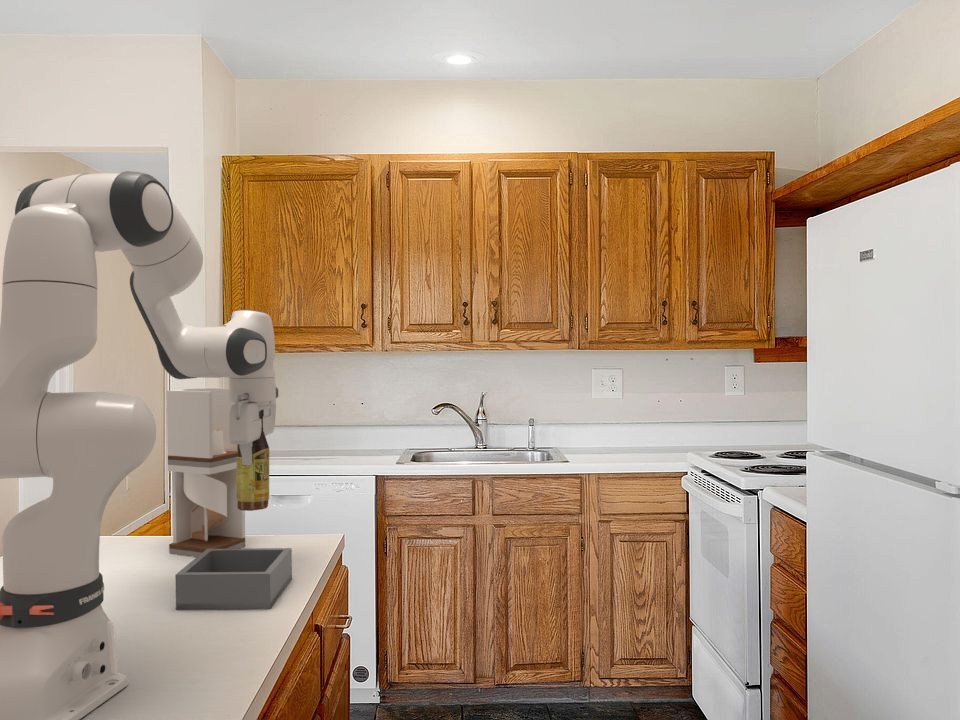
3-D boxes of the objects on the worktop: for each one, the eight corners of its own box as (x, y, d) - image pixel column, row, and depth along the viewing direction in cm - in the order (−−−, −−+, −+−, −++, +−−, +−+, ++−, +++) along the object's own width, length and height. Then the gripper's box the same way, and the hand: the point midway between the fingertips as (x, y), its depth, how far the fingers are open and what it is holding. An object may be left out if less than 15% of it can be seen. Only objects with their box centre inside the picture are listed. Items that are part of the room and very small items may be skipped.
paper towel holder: (169, 553, 165) (166, 390, 164) (204, 541, 175) (202, 387, 174) (211, 559, 160) (208, 391, 159) (245, 546, 170) (243, 388, 169)
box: (270, 608, 131) (270, 573, 131) (175, 609, 131) (175, 574, 131) (291, 579, 147) (291, 548, 147) (207, 580, 147) (207, 548, 147)
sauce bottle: (260, 512, 149) (259, 410, 149) (230, 511, 150) (229, 409, 150) (275, 505, 156) (274, 407, 155) (247, 504, 157) (246, 407, 156)
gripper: (253, 395, 142) (254, 470, 143) (280, 389, 163) (281, 454, 163) (219, 395, 142) (220, 470, 143) (250, 389, 163) (251, 454, 163)
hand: (253, 461), depth 153 cm, fingers closed on sauce bottle, 6 cm apart
